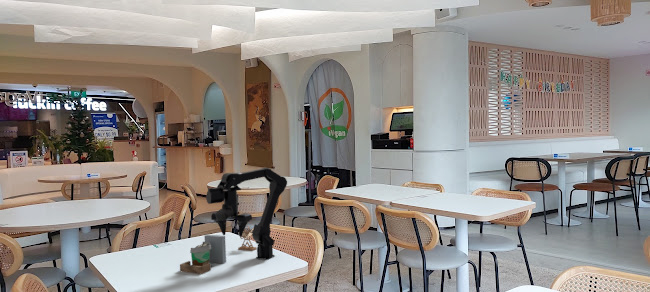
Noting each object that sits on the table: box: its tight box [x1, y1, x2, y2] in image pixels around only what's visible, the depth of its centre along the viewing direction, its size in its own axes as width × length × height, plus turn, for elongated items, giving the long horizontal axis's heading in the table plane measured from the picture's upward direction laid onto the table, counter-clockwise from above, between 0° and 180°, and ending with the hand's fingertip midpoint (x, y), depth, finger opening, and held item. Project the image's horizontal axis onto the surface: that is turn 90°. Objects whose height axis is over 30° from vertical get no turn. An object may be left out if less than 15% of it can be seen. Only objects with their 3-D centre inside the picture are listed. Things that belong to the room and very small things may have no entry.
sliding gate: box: [204, 234, 227, 264], centre depth 211 cm, size 10×2×12 cm, turn 65°
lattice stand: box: [237, 225, 257, 252], centre depth 232 cm, size 9×4×12 cm, turn 64°
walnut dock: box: [179, 260, 212, 275], centre depth 198 cm, size 12×6×3 cm, turn 65°
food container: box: [189, 241, 211, 266], centre depth 203 cm, size 12×6×10 cm, turn 168°
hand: (232, 235), depth 206 cm, fingers open, 9 cm apart
